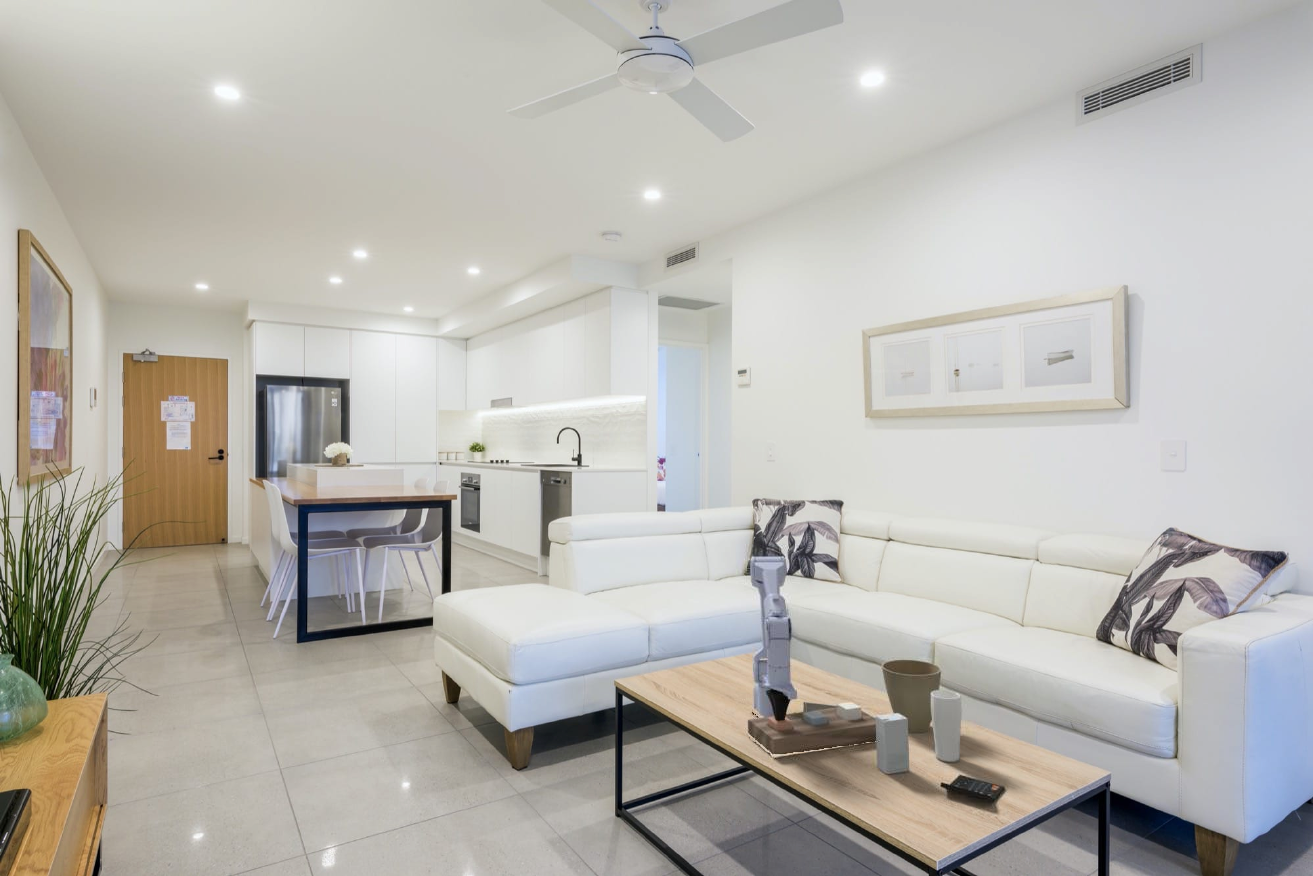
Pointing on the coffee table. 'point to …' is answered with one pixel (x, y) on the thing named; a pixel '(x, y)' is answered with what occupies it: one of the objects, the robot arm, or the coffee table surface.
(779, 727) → the pink cube
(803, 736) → the board
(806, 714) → the slate key
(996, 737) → the coffee table surface
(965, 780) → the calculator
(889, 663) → the plant pot
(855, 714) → the ivory key
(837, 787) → the coffee table surface
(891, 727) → the skincare box
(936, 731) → the drinking glass
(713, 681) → the coffee table surface
